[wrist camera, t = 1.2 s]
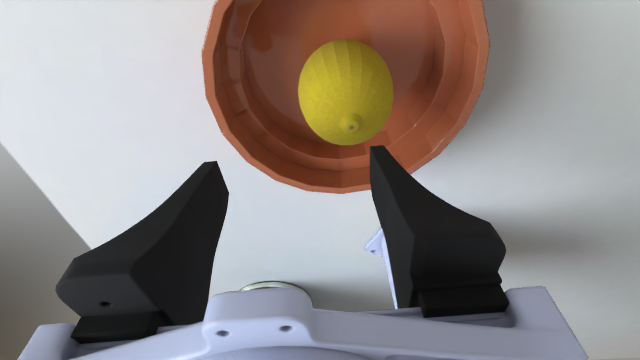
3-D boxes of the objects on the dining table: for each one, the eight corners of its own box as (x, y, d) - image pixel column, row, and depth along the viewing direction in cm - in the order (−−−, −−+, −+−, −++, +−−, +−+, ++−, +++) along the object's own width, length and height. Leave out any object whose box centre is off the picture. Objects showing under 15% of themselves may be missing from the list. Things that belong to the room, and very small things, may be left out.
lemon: (315, 9, 20) (319, 56, 14) (394, 40, 21) (430, 96, 15) (289, 88, 23) (282, 155, 17) (359, 112, 25) (376, 181, 19)
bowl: (513, 2, 20) (555, 22, 17) (375, 180, 30) (384, 216, 26) (268, -162, 15) (258, -180, 12) (195, 114, 25) (177, 148, 21)
